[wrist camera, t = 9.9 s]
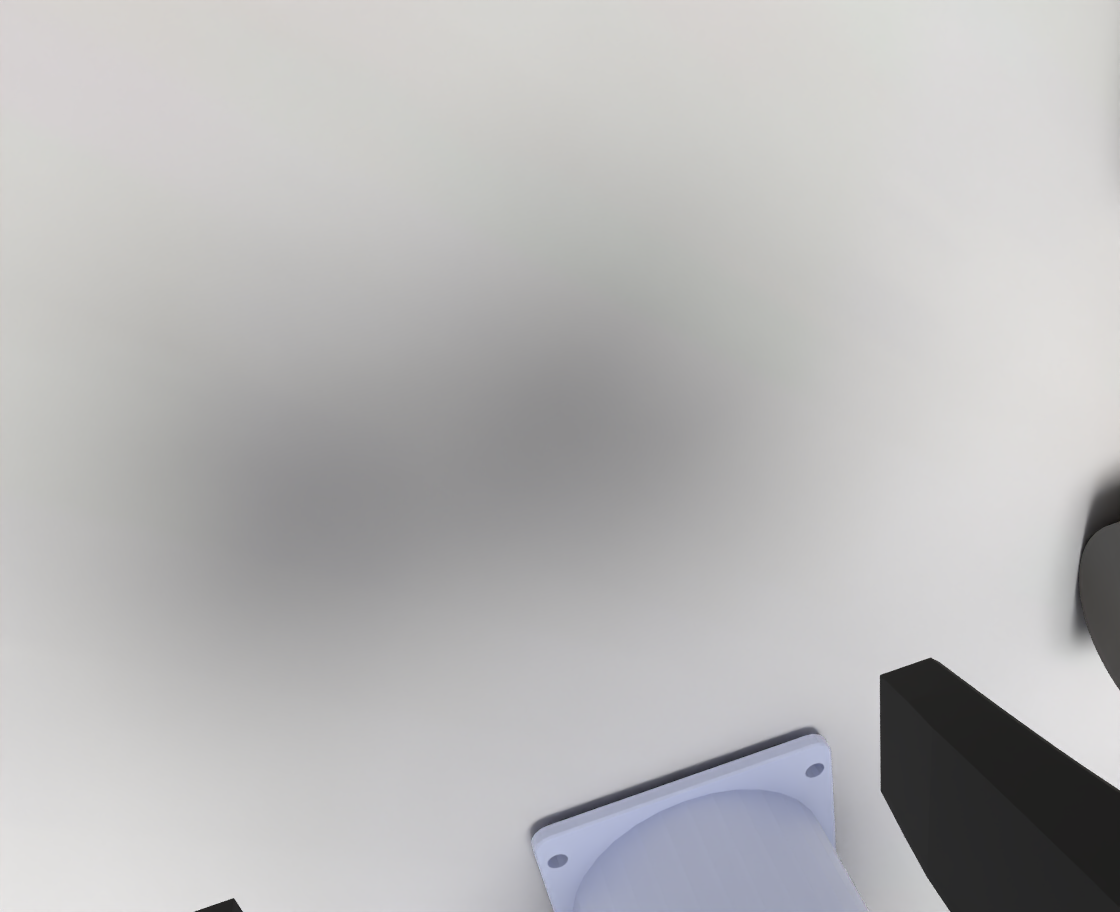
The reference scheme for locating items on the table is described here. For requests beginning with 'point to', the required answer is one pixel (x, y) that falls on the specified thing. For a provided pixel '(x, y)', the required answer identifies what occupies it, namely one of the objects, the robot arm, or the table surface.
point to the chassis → (1103, 595)
